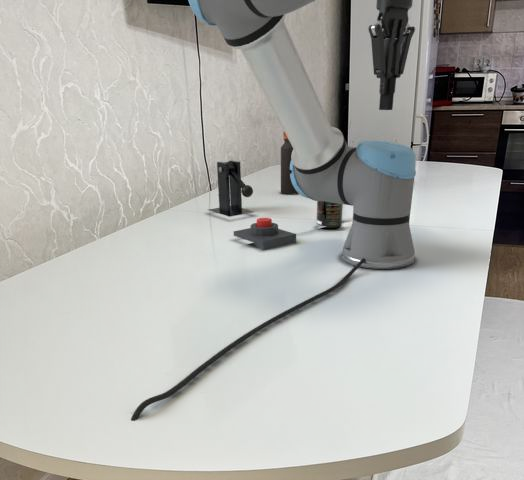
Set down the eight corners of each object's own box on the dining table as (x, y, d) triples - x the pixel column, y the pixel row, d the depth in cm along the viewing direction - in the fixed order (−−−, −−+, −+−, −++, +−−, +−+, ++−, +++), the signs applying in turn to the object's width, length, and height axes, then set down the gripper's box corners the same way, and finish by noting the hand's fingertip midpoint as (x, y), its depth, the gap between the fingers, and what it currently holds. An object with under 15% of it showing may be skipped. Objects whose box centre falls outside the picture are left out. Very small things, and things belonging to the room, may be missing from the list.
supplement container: (347, 228, 138) (349, 187, 133) (326, 232, 134) (328, 190, 130) (331, 223, 143) (332, 183, 138) (311, 227, 140) (312, 186, 135)
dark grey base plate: (296, 242, 126) (296, 226, 124) (263, 250, 121) (262, 233, 119) (265, 233, 135) (265, 217, 133) (233, 240, 129) (232, 224, 127)
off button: (274, 226, 126) (274, 219, 125) (262, 229, 124) (262, 221, 123) (265, 224, 128) (265, 216, 127) (253, 226, 126) (253, 219, 125)
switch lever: (253, 198, 146) (256, 189, 144) (244, 200, 144) (247, 190, 142) (229, 169, 151) (232, 160, 149) (220, 170, 149) (223, 161, 147)
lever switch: (255, 216, 152) (254, 162, 146) (229, 220, 148) (227, 165, 141) (232, 209, 161) (229, 158, 154) (207, 213, 156) (203, 161, 149)
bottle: (278, 194, 181) (278, 132, 172) (282, 190, 187) (282, 130, 178) (298, 194, 180) (299, 132, 171) (301, 191, 186) (302, 130, 177)
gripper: (401, -8, 117) (391, 108, 128) (361, -13, 110) (354, 110, 121) (429, -13, 112) (416, 109, 123) (389, -18, 105) (379, 111, 116)
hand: (385, 109), depth 122 cm, fingers closed
